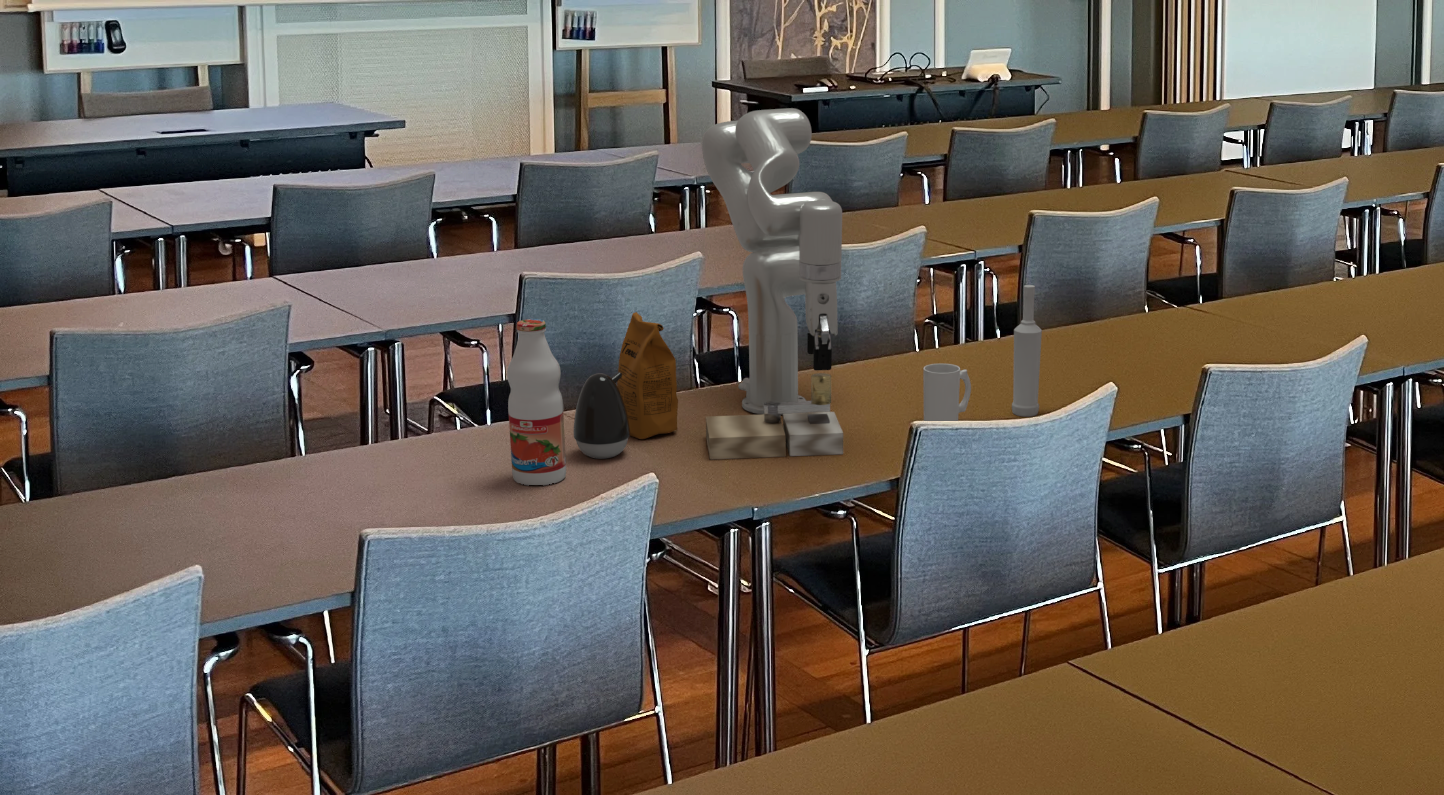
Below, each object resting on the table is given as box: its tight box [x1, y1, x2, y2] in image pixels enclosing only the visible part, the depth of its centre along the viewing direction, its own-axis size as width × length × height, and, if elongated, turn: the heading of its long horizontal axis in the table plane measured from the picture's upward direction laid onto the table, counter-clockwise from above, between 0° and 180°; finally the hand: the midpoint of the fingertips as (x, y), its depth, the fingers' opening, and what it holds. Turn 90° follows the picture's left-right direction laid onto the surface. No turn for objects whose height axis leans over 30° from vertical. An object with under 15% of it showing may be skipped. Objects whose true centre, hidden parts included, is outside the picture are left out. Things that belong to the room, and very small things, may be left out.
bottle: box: [1011, 284, 1043, 417], centre depth 316 cm, size 5×5×25 cm
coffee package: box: [616, 311, 679, 440], centre depth 312 cm, size 10×12×22 cm
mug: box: [922, 363, 972, 422], centre depth 310 cm, size 10×7×12 cm, turn 118°
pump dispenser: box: [572, 371, 631, 460], centre depth 299 cm, size 10×10×15 cm
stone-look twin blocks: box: [705, 411, 844, 460], centre depth 303 cm, size 24×13×5 cm, turn 93°
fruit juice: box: [506, 318, 567, 486], centre depth 285 cm, size 9×9×28 cm
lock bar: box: [764, 372, 832, 423], centre depth 303 cm, size 12×4×8 cm, turn 93°
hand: (819, 361), depth 302 cm, fingers open, 9 cm apart
